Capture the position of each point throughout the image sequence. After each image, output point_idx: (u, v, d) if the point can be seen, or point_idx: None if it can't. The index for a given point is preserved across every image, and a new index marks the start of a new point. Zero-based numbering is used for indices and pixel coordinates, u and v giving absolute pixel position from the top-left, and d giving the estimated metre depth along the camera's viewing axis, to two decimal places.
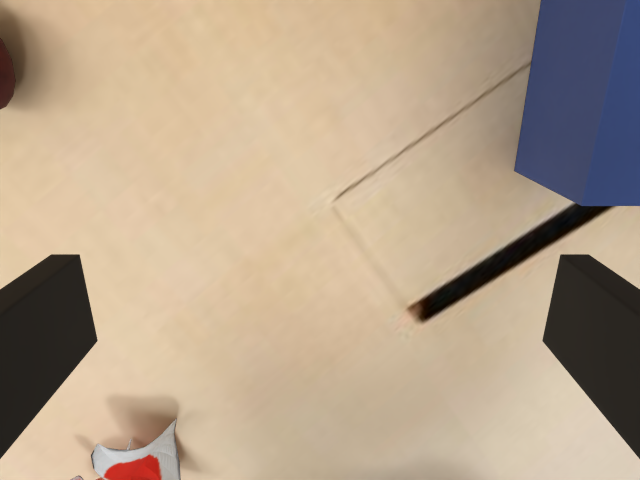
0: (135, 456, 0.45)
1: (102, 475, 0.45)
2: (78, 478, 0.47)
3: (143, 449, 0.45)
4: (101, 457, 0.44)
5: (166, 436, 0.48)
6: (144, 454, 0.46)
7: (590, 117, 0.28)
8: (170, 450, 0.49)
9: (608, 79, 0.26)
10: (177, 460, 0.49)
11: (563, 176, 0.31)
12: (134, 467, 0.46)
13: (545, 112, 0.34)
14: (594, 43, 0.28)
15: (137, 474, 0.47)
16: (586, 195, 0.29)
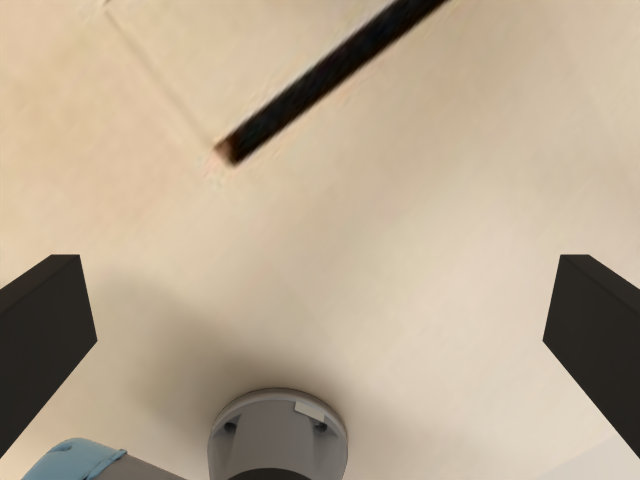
0: None
1: None
2: None
3: None
4: None
5: None
6: None
7: None
8: None
9: None
10: None
11: None
12: None
13: None
14: None
15: None
16: None
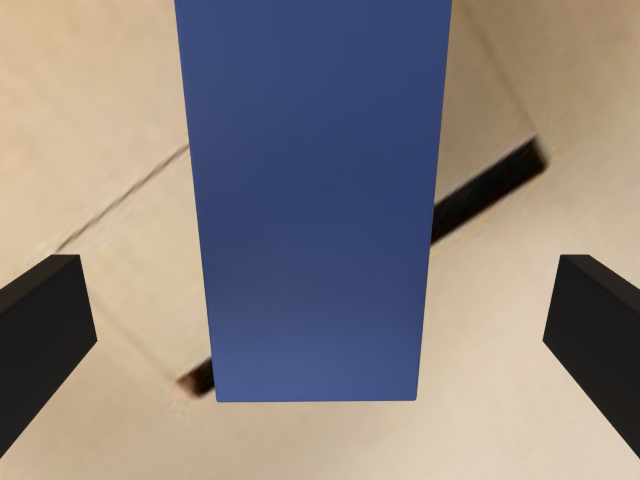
0: None
1: None
2: None
3: None
4: None
5: None
6: None
7: None
8: None
9: None
10: None
11: None
12: None
13: None
14: None
15: None
16: (220, 382, 0.13)
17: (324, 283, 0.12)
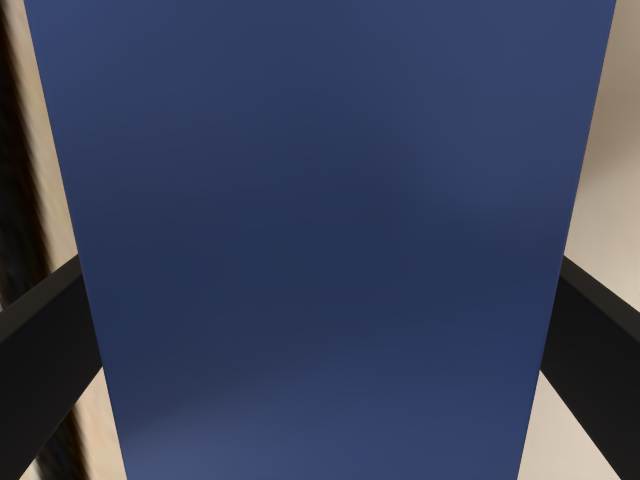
0: None
1: None
2: None
3: None
4: None
5: None
6: None
7: None
8: None
9: None
10: None
11: None
12: None
13: None
14: None
15: None
16: None
17: (337, 478, 0.07)
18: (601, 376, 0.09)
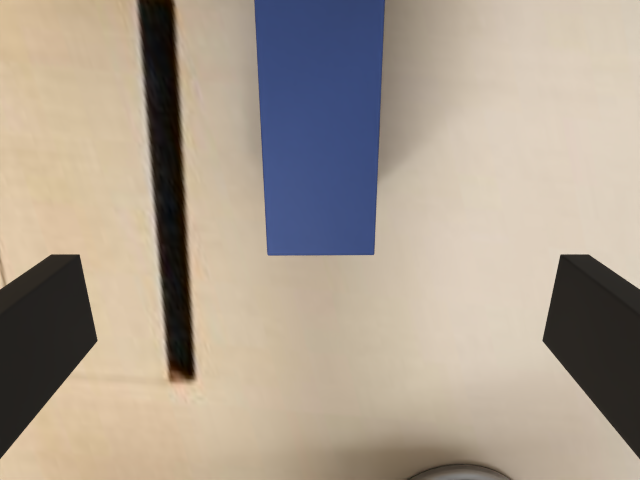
0: None
1: None
2: None
3: None
4: None
5: None
6: None
7: None
8: None
9: (260, 111, 0.22)
10: None
11: None
12: None
13: None
14: None
15: None
16: (270, 243, 0.25)
17: (324, 187, 0.24)
18: None
